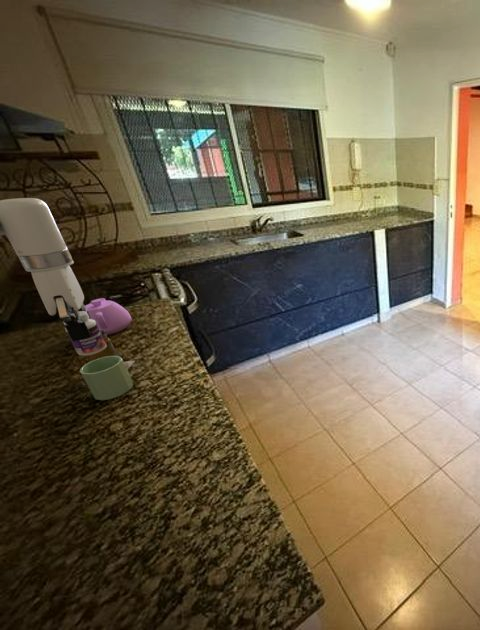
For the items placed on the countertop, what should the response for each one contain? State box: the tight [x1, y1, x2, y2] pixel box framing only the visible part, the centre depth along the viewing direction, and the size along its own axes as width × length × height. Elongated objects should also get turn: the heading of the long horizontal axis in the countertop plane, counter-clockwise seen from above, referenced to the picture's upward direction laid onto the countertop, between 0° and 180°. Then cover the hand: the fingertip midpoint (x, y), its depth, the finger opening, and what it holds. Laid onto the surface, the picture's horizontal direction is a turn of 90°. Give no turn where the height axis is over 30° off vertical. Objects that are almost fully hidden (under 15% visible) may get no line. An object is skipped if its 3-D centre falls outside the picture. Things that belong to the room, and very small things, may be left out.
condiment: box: [85, 329, 136, 370], centre depth 94 cm, size 7×8×12 cm
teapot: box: [84, 297, 132, 336], centre depth 117 cm, size 14×20×11 cm
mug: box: [79, 355, 134, 401], centre depth 87 cm, size 8×8×8 cm
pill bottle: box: [64, 311, 107, 357], centre depth 81 cm, size 5×5×10 cm
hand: (84, 332), depth 81 cm, fingers closed on pill bottle, 5 cm apart
